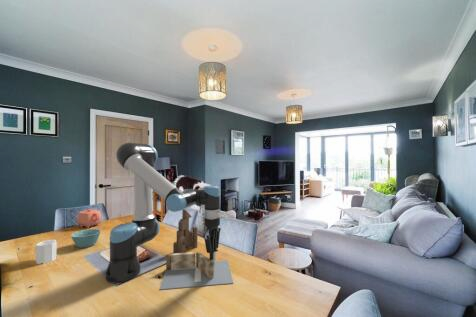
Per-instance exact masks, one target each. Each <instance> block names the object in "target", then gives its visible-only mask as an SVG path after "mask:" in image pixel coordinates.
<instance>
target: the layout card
mask: <svg viewBox="0 0 476 317" xmlns="http://www.w3.org/2000/svg"><path fill="white" fill-rule="evenodd" d="M231 284H234V280H233V276H232V271H231V267H230V262H229V260H228V259H225V260H216V265H215V266H214V277H213V278H209V277H208V276H206V275H205V274H204V273H203V272H202V271H201V270H200V269H199V268H197V267H196V261H195V267H194V268H181V269H171V270H166V269H165V272H164V276H163V278H162V281H161V284H160V287H159V291H162V290H163V291H164V290H165V291H166V290H173V289H174V290H175V289H187V288H196V287H198V288H199V287H209V286H211V287H212V286H219V285H231Z"/></svg>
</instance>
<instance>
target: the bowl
mask: <svg viewBox="0 0 476 317" xmlns="http://www.w3.org/2000/svg"><path fill="white" fill-rule="evenodd" d="M101 231H102V230H101V229H99V228H87V229H84V230H80V231H77V232H76V231H75V232H74V233H72V234H71V235H70V237H71V239H72V241H73V243H74V245H75V247H77V248H78V249H83V248H84V249H85V248H88V247H89V248H90V247H92V246H94V245H95V244H96V243H97V242H98V239H99V237H100V234H101Z"/></svg>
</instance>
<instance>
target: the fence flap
mask: <svg viewBox="0 0 476 317" xmlns="http://www.w3.org/2000/svg"><path fill="white" fill-rule="evenodd" d="M198 268H199V269H200V270H201V271H202V272H203V273H204V274H205V275H206V276H208V277H209V278H213V277H214V262H213V261H212V260H210V257H207V256H206V255H205V254H203V253H202V252H201V254H198Z"/></svg>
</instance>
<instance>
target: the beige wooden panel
mask: <svg viewBox="0 0 476 317" xmlns="http://www.w3.org/2000/svg"><path fill="white" fill-rule="evenodd" d="M201 253H202V252H201V251H197V252H195V251H193V252H192V251H191V252H185V253H167V254H166V259H165V260H166V262H165V263H166V264H165V267H166V268H165V271H166V270H171V269H181V268H194V267H195V262H196V267H197V268H198V254H201Z"/></svg>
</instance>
